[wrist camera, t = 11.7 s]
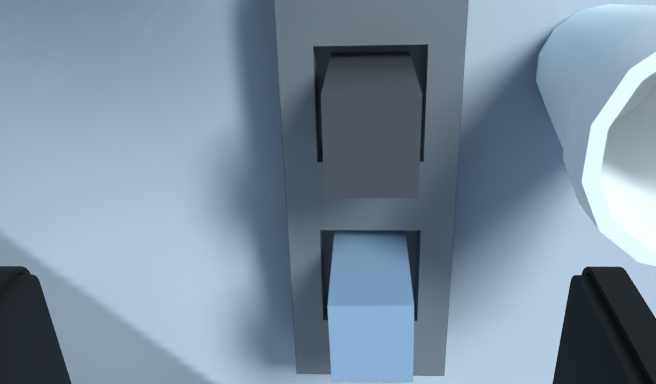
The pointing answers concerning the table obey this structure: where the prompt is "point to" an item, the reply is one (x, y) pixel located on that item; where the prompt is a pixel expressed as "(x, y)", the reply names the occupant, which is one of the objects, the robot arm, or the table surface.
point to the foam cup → (607, 117)
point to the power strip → (370, 213)
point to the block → (371, 307)
